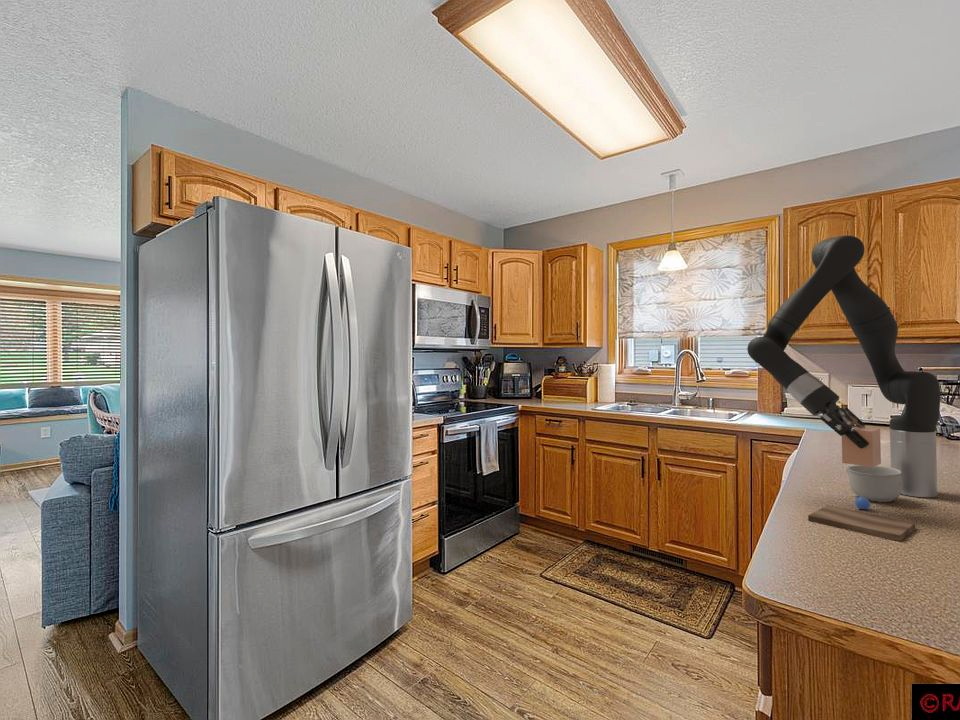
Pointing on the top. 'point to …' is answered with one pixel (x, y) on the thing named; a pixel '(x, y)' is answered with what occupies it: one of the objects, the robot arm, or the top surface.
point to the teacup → (875, 482)
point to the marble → (862, 503)
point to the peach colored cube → (867, 454)
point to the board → (863, 522)
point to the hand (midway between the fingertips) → (869, 444)
